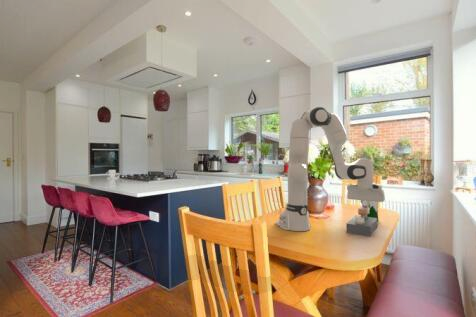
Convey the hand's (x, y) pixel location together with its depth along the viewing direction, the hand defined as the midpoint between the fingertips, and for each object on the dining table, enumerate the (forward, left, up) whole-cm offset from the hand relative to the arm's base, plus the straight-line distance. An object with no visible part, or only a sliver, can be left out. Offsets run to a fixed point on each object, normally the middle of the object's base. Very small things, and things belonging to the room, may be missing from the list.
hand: (365, 207), depth 152 cm
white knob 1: (+8, -14, -10) cm, 19 cm away
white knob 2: (0, 0, -7) cm, 7 cm away
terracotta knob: (+4, -7, -6) cm, 10 cm away
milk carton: (-9, +15, -11) cm, 21 cm away
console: (+4, -7, -11) cm, 14 cm away
